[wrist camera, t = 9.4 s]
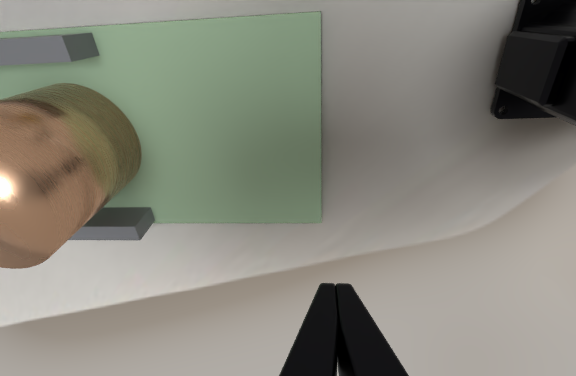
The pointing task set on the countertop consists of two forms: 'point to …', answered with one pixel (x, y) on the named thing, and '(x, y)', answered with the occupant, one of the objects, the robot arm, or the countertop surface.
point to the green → (207, 112)
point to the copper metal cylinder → (58, 167)
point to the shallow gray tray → (68, 49)
